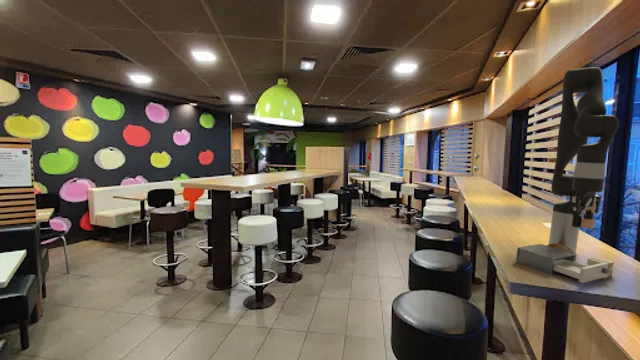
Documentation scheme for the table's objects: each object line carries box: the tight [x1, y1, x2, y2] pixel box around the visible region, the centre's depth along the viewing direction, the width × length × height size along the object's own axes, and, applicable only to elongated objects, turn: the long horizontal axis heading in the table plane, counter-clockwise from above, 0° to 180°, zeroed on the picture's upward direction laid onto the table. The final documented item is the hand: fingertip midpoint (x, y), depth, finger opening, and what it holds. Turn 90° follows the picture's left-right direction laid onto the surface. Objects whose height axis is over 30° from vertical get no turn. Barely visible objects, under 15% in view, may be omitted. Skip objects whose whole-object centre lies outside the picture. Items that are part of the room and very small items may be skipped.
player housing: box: [515, 243, 577, 275], centre depth 108 cm, size 14×12×6 cm
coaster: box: [570, 216, 596, 229], centre depth 97 cm, size 6×6×2 cm
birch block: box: [586, 256, 615, 279], centre depth 101 cm, size 5×5×5 cm
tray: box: [553, 258, 609, 284], centre depth 99 cm, size 14×13×5 cm
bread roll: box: [545, 243, 574, 254], centre depth 116 cm, size 10×10×8 cm
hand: (581, 226), depth 97 cm, fingers closed on coaster, 6 cm apart
